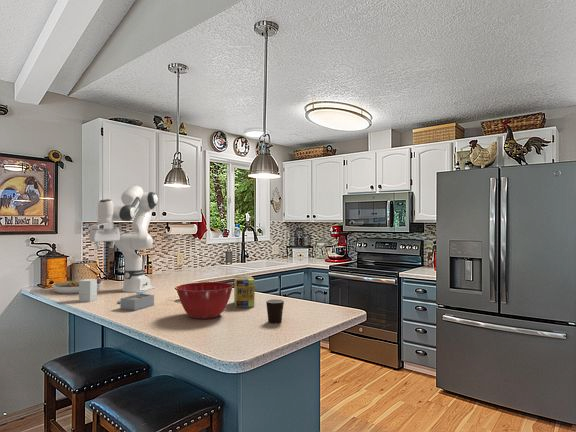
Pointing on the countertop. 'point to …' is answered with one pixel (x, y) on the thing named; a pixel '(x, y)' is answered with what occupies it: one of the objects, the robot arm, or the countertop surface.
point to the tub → (136, 302)
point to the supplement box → (87, 290)
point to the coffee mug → (274, 310)
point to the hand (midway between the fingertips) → (105, 248)
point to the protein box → (244, 291)
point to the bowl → (70, 287)
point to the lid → (138, 293)
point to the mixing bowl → (204, 298)
